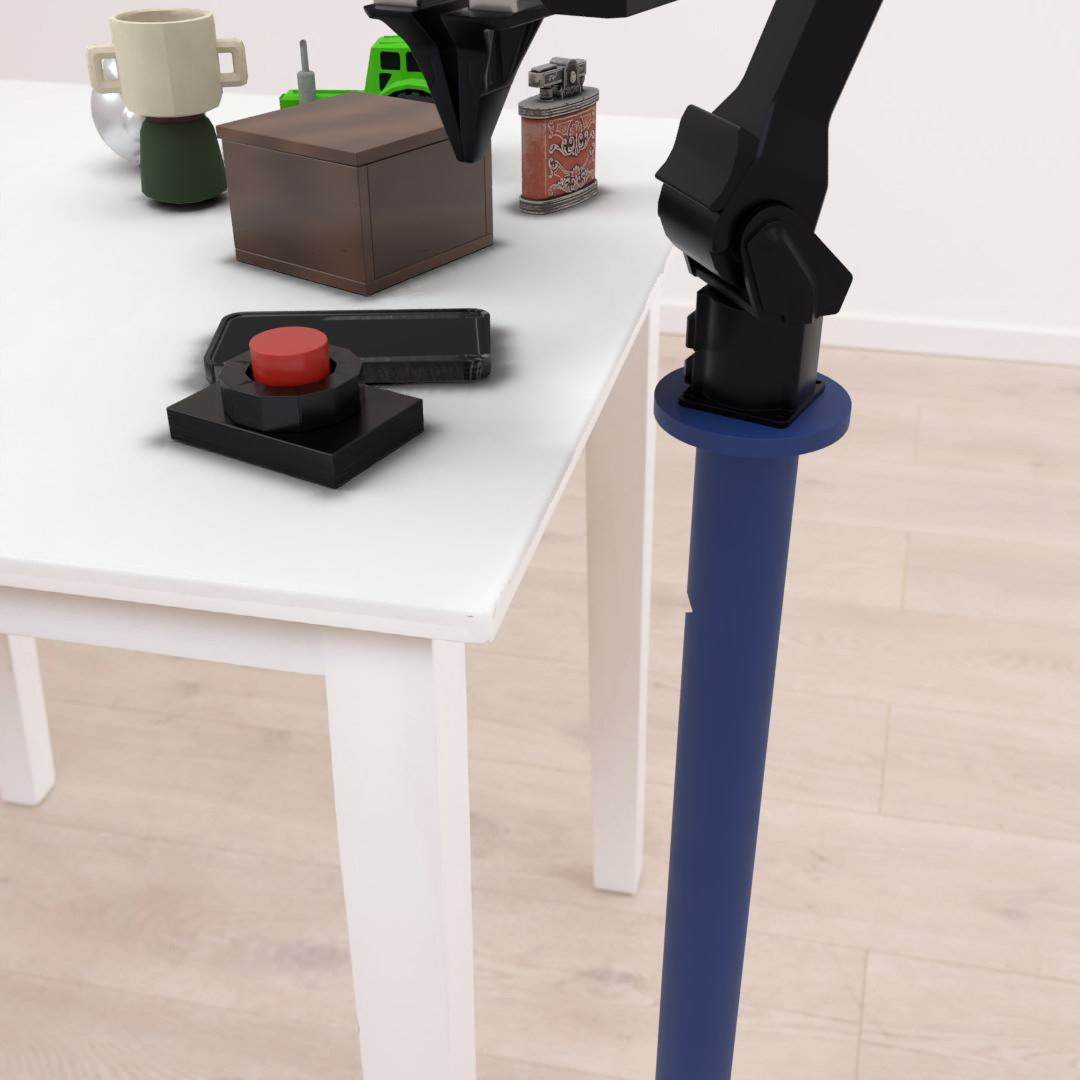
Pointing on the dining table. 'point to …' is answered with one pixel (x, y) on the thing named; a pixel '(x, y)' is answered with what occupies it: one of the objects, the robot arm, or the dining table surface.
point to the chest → (357, 213)
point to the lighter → (558, 137)
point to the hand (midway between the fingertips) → (470, 161)
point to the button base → (299, 420)
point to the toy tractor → (369, 75)
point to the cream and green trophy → (171, 95)
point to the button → (289, 356)
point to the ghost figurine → (116, 120)
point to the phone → (375, 340)
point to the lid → (342, 128)
